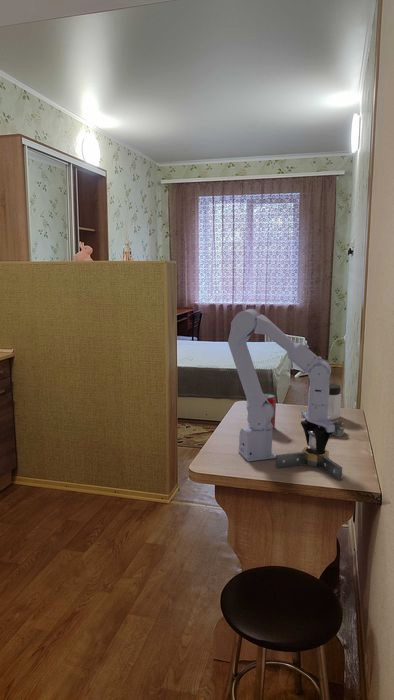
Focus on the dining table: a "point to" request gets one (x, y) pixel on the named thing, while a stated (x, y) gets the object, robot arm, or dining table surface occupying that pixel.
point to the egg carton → (338, 428)
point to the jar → (334, 401)
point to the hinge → (310, 462)
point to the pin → (312, 443)
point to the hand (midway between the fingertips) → (315, 448)
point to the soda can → (272, 401)
